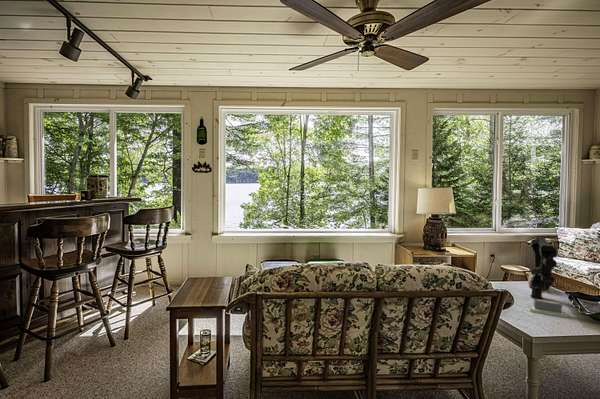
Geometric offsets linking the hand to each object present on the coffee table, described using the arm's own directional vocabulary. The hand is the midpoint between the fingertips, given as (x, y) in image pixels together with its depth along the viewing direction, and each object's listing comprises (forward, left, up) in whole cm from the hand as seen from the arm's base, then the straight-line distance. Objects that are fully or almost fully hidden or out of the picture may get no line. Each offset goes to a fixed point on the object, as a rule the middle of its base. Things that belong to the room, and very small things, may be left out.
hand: (544, 288), depth 207 cm
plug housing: (+10, 0, -10) cm, 14 cm away
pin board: (+10, 0, -12) cm, 16 cm away
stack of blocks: (-47, +4, -12) cm, 49 cm away
